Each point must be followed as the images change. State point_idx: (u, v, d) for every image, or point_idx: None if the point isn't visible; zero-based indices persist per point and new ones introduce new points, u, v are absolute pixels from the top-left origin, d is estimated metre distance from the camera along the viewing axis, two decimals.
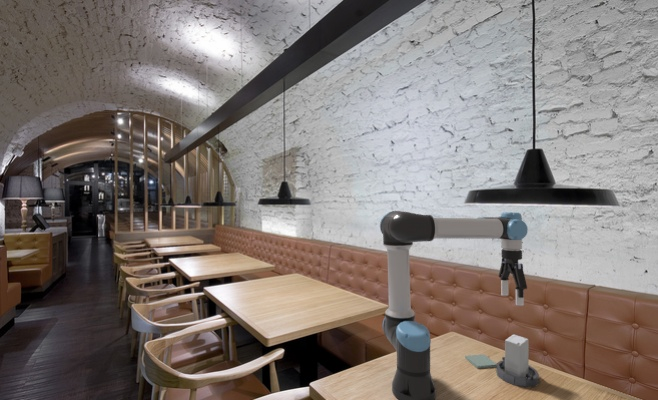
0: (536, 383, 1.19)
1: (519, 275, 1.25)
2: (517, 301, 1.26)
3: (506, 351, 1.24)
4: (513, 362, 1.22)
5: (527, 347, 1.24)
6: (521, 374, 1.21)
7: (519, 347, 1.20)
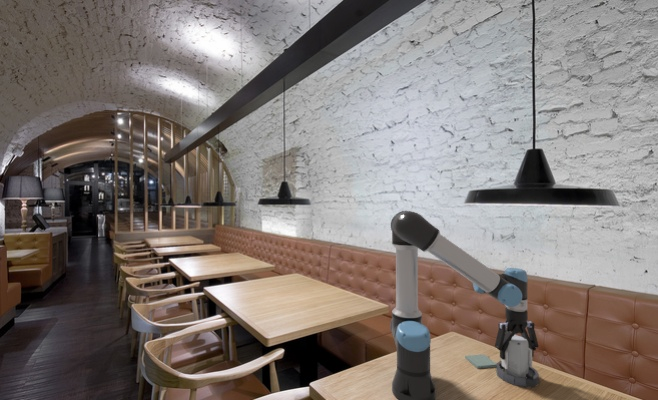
0: (536, 383, 1.19)
1: (498, 335, 1.24)
2: (502, 361, 1.25)
3: None
4: (513, 362, 1.22)
5: (527, 347, 1.24)
6: (521, 374, 1.21)
7: (519, 347, 1.20)
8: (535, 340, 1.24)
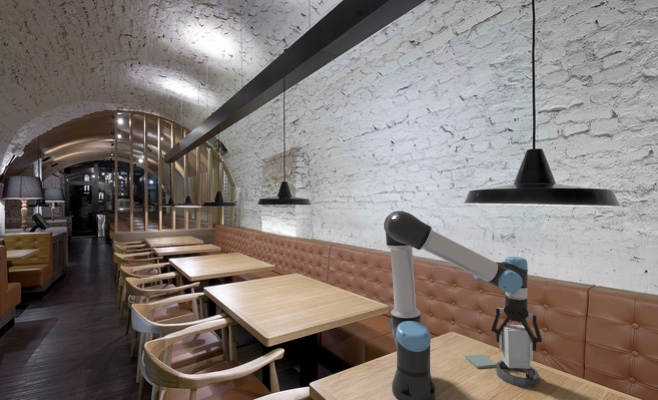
0: (536, 383, 1.19)
1: None
2: None
3: (502, 335, 1.27)
4: (505, 347, 1.25)
5: (527, 339, 1.21)
6: (511, 360, 1.22)
7: (507, 332, 1.22)
8: (537, 334, 1.19)
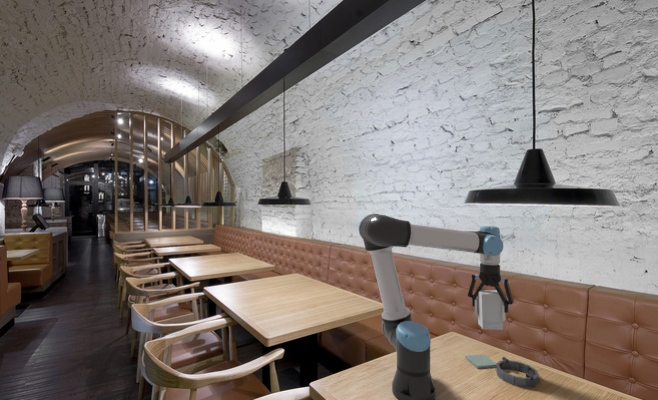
0: (536, 383, 1.19)
1: None
2: None
3: (478, 300, 1.35)
4: (480, 310, 1.33)
5: (500, 302, 1.29)
6: (485, 322, 1.30)
7: (481, 296, 1.31)
8: (508, 296, 1.27)
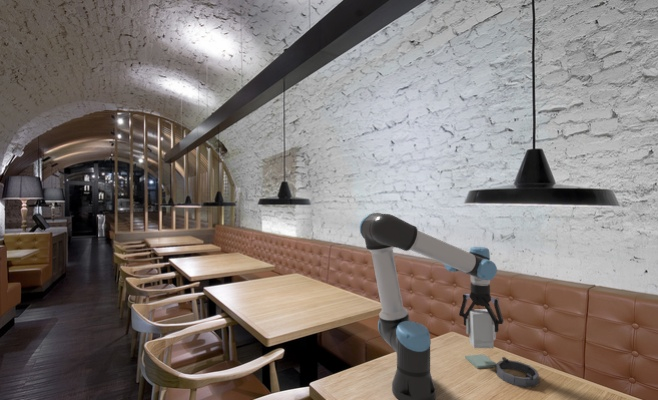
0: (536, 383, 1.19)
1: None
2: None
3: (469, 319, 1.39)
4: (471, 329, 1.36)
5: (490, 321, 1.33)
6: (476, 341, 1.33)
7: (472, 315, 1.34)
8: (498, 316, 1.31)
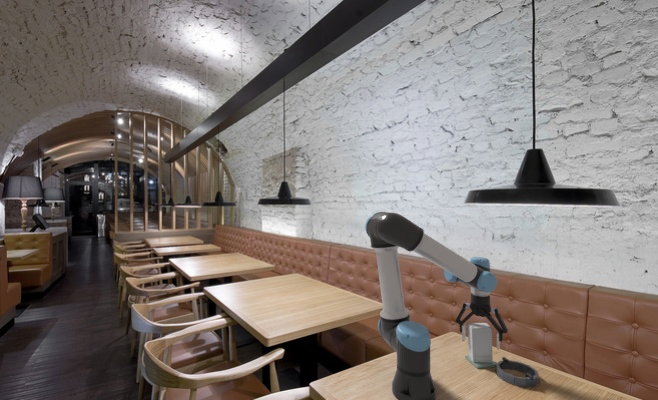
0: (536, 383, 1.19)
1: None
2: None
3: (468, 333, 1.39)
4: (470, 343, 1.36)
5: (489, 335, 1.33)
6: (475, 355, 1.34)
7: (471, 329, 1.34)
8: (502, 326, 1.30)
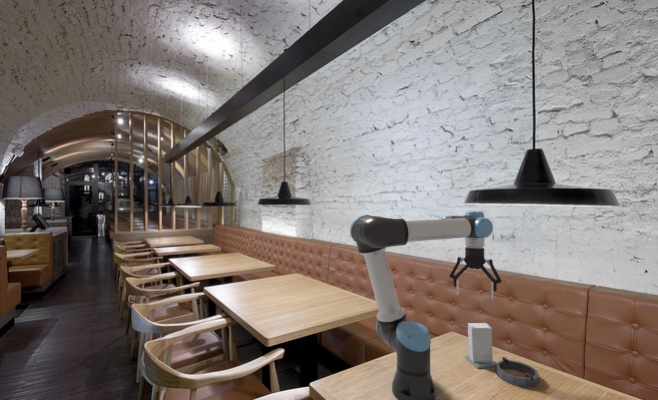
0: (536, 383, 1.19)
1: None
2: None
3: (468, 333, 1.39)
4: (470, 343, 1.36)
5: (489, 335, 1.33)
6: (475, 355, 1.34)
7: (471, 329, 1.34)
8: (496, 276, 1.32)
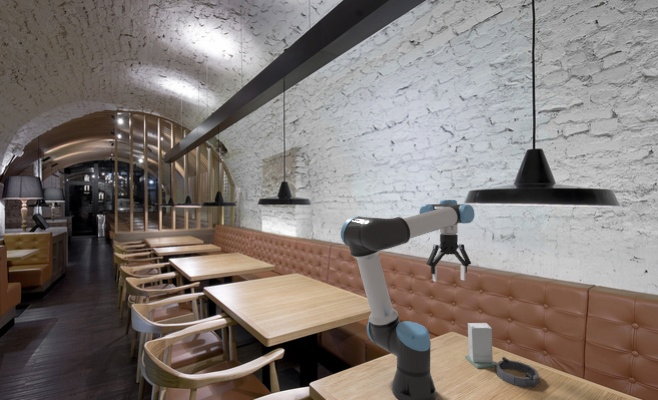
0: (536, 383, 1.19)
1: (431, 254, 1.44)
2: (433, 277, 1.44)
3: (468, 333, 1.39)
4: (470, 343, 1.36)
5: (489, 335, 1.33)
6: (475, 355, 1.34)
7: (471, 329, 1.34)
8: (467, 258, 1.44)
